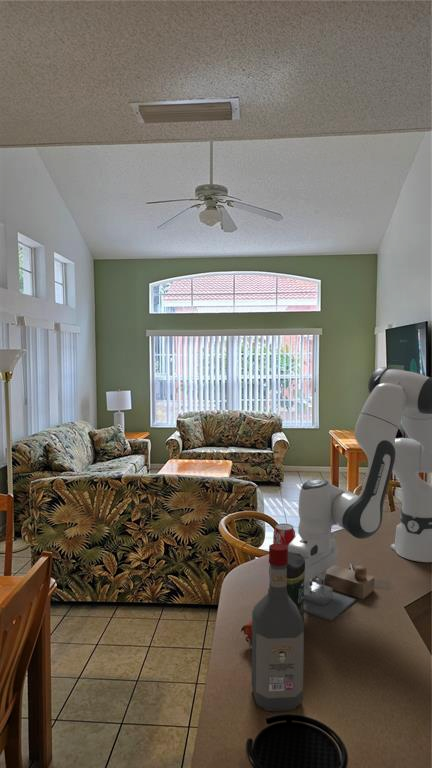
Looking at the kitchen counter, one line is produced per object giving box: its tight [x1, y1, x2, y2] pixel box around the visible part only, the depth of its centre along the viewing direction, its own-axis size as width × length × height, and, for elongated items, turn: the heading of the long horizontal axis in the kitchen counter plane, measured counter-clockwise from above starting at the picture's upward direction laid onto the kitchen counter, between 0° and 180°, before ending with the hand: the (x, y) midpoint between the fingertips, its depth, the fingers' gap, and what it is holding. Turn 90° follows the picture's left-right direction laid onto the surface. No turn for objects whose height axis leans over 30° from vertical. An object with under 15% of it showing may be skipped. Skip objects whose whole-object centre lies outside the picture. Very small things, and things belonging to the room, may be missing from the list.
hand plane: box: [312, 564, 375, 600], centre depth 152 cm, size 20×7×9 cm, turn 49°
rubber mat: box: [304, 591, 357, 622], centre depth 143 cm, size 14×18×1 cm
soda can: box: [272, 523, 296, 546], centre depth 168 cm, size 7×7×12 cm
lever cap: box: [304, 579, 334, 606], centre depth 143 cm, size 9×5×4 cm, turn 49°
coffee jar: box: [268, 551, 305, 623], centre depth 127 cm, size 10×8×19 cm
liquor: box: [251, 543, 305, 712], centre depth 102 cm, size 9×9×30 cm
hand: (313, 589), depth 143 cm, fingers open, 5 cm apart
